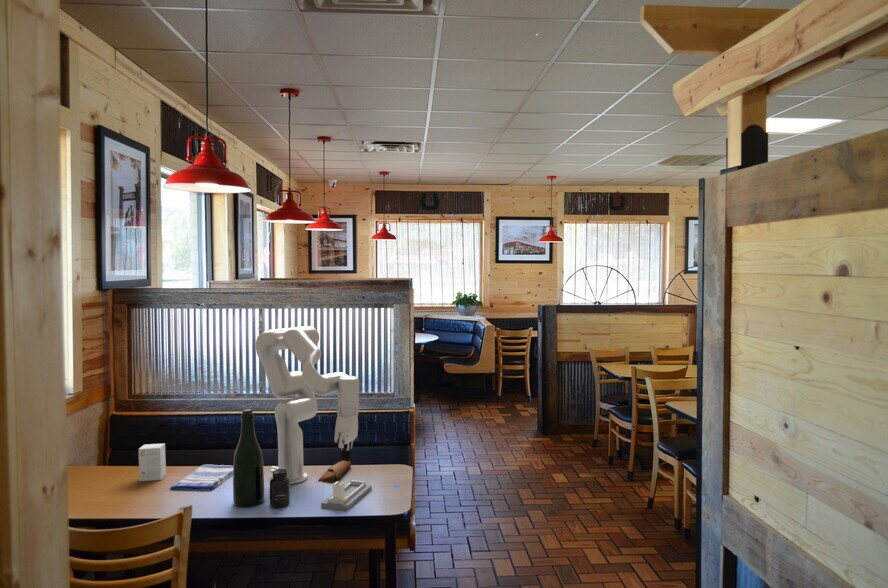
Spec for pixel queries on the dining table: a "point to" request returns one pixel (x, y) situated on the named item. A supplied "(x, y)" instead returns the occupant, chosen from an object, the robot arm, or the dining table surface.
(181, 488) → the dish towel
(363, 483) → the fader console
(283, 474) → the supplement bottle
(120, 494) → the dining table surface
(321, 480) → the sunglasses case
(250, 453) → the beer bottle
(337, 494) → the fader knob
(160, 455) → the small box
